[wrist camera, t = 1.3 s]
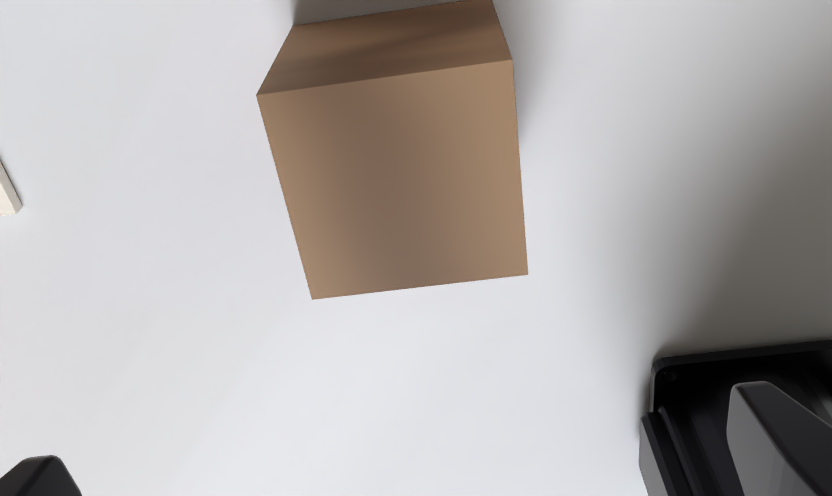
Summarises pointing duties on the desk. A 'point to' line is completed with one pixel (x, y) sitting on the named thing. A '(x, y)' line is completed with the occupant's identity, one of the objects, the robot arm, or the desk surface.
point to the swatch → (8, 195)
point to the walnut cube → (398, 149)
